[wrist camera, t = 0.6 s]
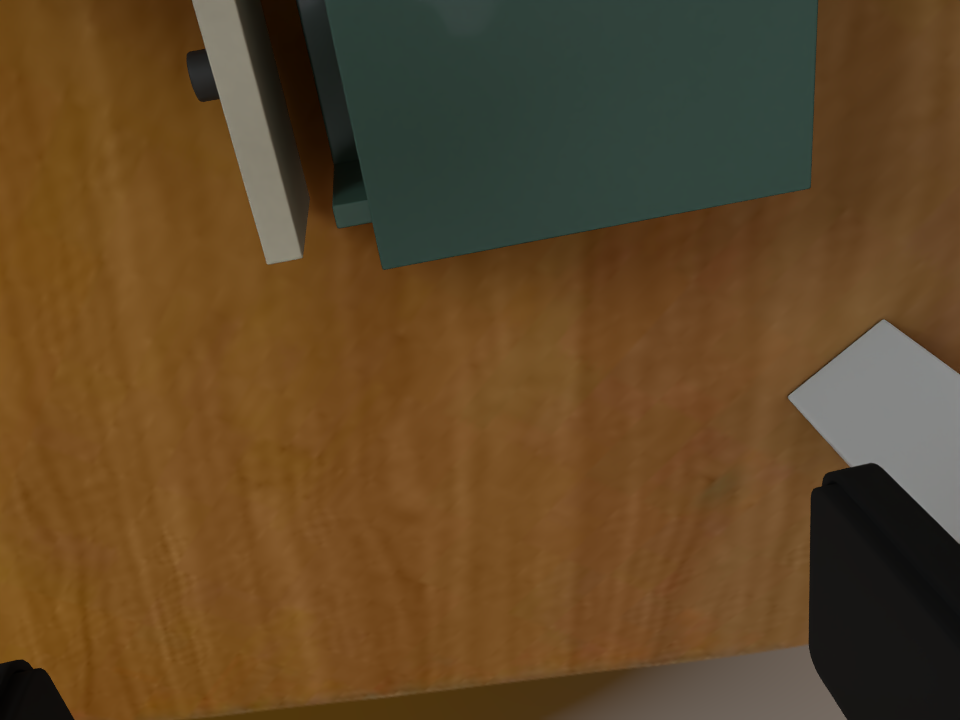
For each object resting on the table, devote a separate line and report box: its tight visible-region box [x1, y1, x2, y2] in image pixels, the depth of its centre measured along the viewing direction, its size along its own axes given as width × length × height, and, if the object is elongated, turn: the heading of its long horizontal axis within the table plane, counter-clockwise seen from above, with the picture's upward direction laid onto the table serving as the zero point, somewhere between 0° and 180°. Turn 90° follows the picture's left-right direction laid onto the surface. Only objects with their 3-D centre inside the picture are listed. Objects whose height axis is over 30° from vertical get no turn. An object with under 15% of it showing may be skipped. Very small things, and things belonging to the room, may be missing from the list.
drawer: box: [187, 0, 372, 264], centre depth 29 cm, size 15×11×7 cm
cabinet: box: [324, 0, 818, 270], centre depth 29 cm, size 15×13×9 cm
